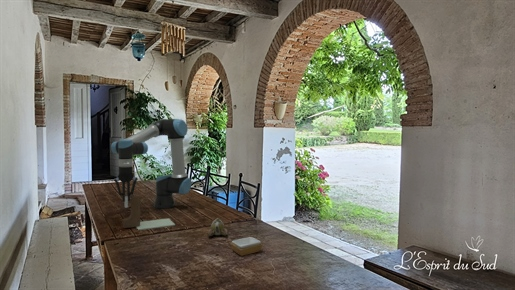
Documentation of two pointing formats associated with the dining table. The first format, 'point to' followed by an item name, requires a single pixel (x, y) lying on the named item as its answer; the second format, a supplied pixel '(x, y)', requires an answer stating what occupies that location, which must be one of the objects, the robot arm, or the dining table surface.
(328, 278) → the dining table surface
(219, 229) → the ceramic sculpture
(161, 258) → the dining table surface
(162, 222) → the mat
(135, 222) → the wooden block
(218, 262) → the dining table surface
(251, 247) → the soap dish
